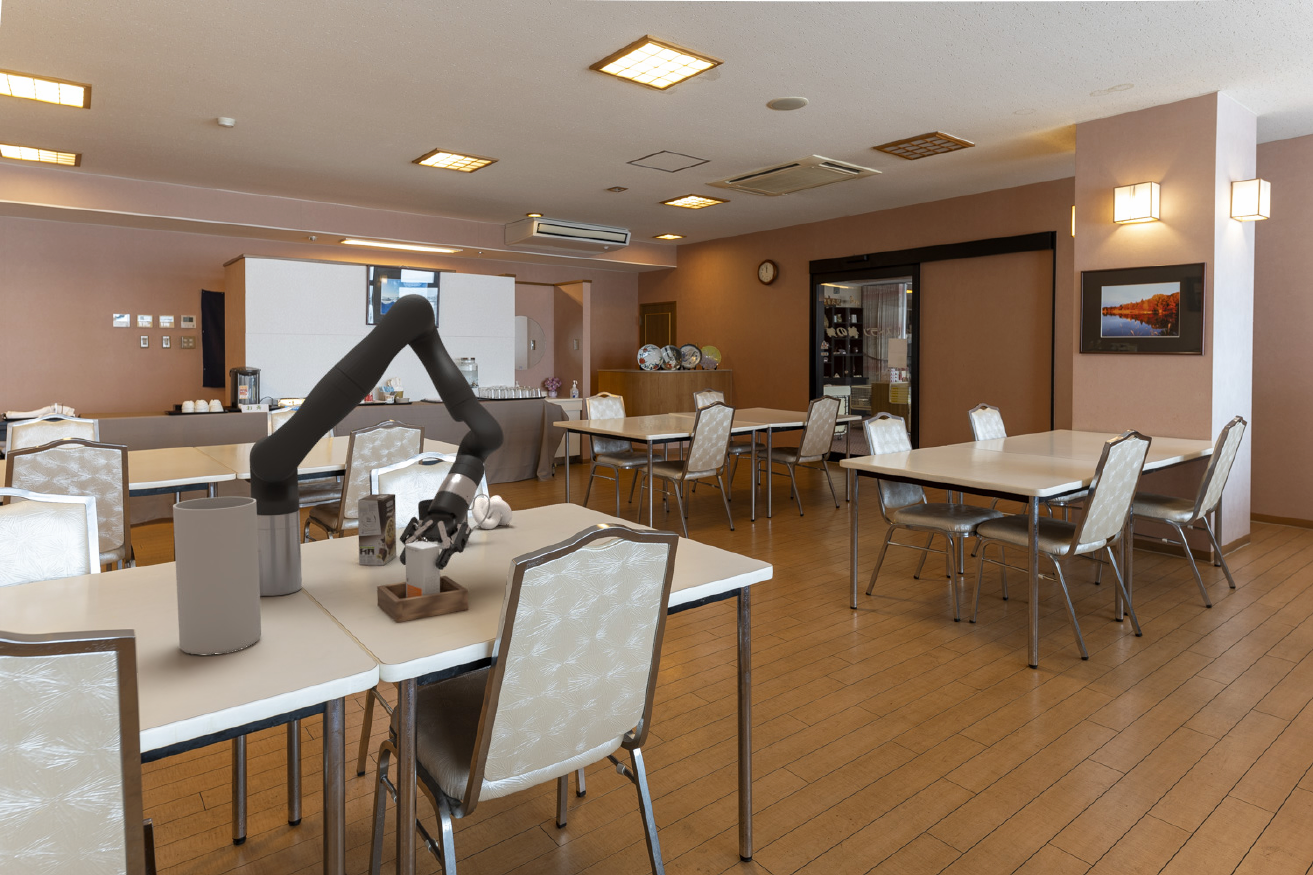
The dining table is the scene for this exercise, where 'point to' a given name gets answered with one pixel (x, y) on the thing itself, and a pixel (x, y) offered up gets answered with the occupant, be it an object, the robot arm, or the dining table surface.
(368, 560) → the coffee box
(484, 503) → the white knot sculpture
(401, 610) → the tray
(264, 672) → the dining table surface
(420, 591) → the skincare box
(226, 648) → the cylinder vase
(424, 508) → the black smart speaker
